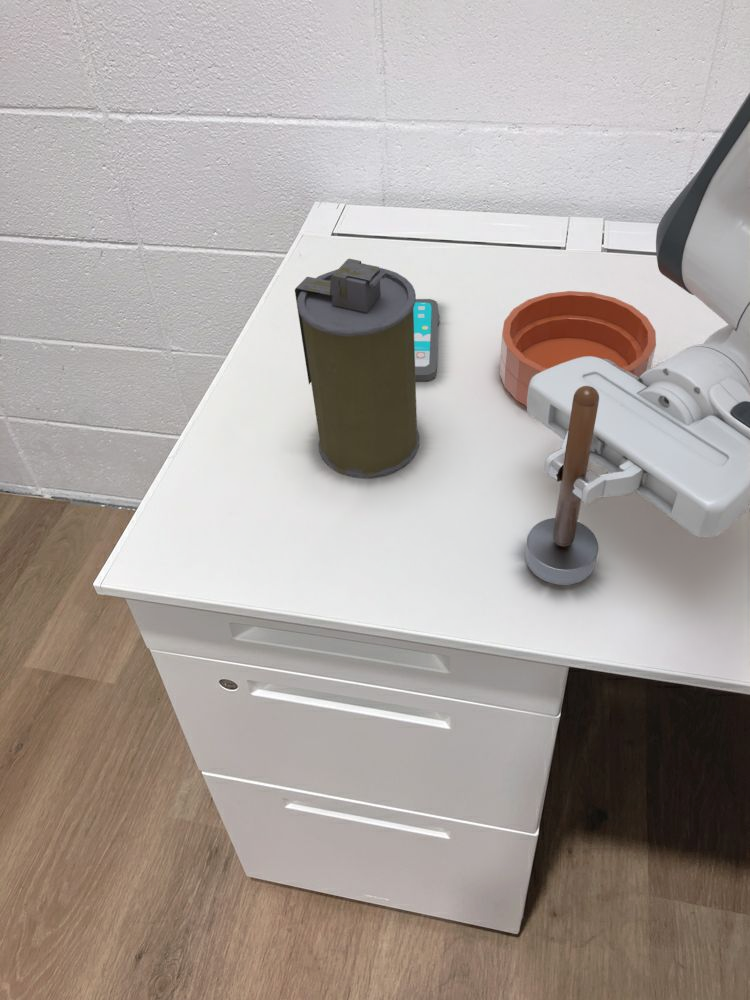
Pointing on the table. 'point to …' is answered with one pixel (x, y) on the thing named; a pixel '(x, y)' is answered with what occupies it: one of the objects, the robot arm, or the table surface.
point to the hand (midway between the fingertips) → (565, 482)
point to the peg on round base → (568, 507)
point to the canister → (361, 366)
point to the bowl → (572, 336)
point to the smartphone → (425, 338)
